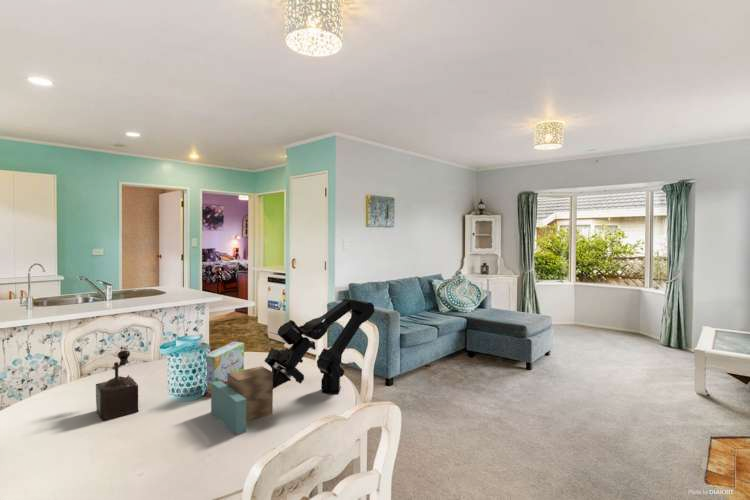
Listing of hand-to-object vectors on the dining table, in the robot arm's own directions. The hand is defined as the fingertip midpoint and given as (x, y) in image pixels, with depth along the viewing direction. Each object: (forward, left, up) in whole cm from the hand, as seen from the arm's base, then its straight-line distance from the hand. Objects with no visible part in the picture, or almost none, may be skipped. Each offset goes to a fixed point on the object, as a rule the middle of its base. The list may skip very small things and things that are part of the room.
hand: (267, 390), depth 139 cm
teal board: (+10, +10, -7) cm, 15 cm away
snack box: (+23, -19, -7) cm, 31 cm away
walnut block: (+4, +4, -7) cm, 9 cm away
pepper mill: (+50, +4, -7) cm, 51 cm away
